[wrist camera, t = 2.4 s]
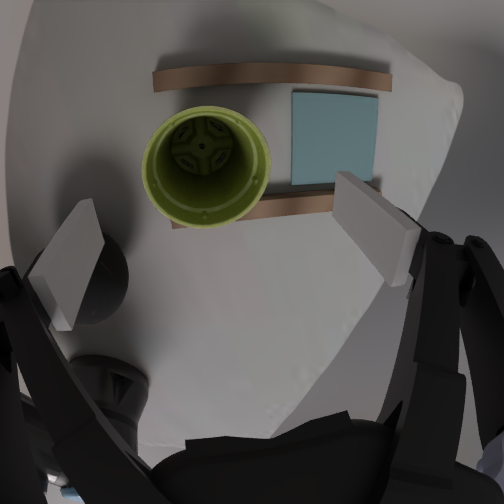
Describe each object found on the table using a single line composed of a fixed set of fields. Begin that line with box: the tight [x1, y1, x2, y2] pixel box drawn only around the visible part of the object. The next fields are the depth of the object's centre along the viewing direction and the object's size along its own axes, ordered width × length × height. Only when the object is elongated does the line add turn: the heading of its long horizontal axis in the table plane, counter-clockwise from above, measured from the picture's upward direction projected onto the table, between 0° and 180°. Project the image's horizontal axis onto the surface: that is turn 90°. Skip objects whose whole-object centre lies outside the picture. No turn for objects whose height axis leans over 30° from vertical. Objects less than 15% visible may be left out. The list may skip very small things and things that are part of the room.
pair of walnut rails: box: [152, 63, 392, 229], centre depth 28 cm, size 24×16×2 cm, turn 91°
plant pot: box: [142, 106, 271, 228], centre depth 24 cm, size 9×9×9 cm
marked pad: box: [291, 92, 378, 185], centre depth 30 cm, size 10×10×1 cm
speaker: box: [75, 231, 129, 324], centre depth 27 cm, size 10×10×10 cm
